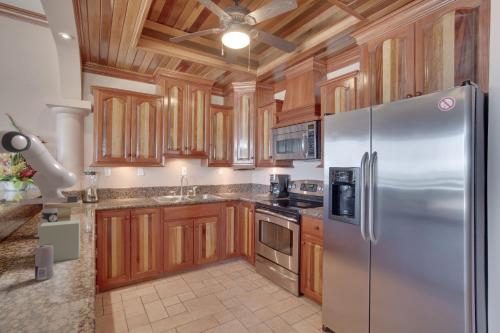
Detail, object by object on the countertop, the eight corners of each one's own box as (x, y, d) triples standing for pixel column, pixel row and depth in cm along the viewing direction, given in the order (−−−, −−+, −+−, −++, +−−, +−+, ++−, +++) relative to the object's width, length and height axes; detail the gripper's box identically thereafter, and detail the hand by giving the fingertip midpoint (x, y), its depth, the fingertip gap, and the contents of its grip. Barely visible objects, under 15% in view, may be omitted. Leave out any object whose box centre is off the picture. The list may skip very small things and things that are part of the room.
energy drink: (43, 274, 98) (43, 243, 98) (56, 275, 98) (57, 244, 98) (30, 281, 93) (31, 248, 93) (45, 281, 93) (45, 248, 93)
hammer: (22, 203, 120) (22, 197, 120) (78, 200, 131) (78, 194, 131) (17, 205, 114) (18, 198, 114) (77, 202, 125) (77, 196, 125)
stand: (47, 250, 126) (48, 201, 126) (81, 246, 133) (82, 200, 133) (43, 256, 118) (44, 204, 118) (80, 251, 125) (80, 202, 125)
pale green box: (42, 258, 116) (43, 222, 116) (79, 253, 123) (80, 219, 123) (39, 264, 109) (39, 226, 109) (78, 258, 116) (78, 223, 116)
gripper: (-54, 213, 98) (-8, 196, 105) (-34, 208, 115) (4, 193, 122) (-44, 227, 99) (0, 209, 106) (-25, 220, 116) (12, 204, 123)
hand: (3, 200), depth 114 cm, fingers open, 8 cm apart
